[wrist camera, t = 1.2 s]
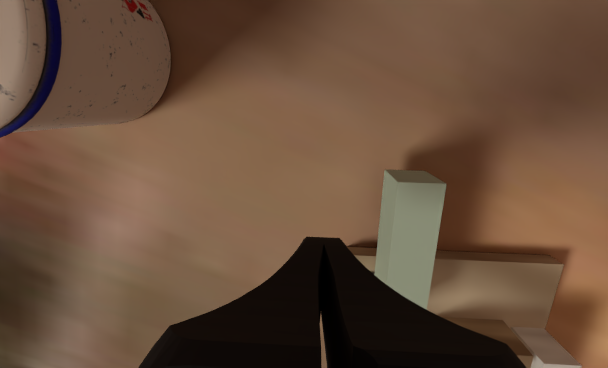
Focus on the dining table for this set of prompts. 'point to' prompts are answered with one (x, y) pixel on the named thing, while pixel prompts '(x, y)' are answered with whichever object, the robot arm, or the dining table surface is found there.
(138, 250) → the dining table surface
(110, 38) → the teacup with lid
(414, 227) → the green rectangular block
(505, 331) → the cream shallow tray
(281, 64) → the dining table surface
